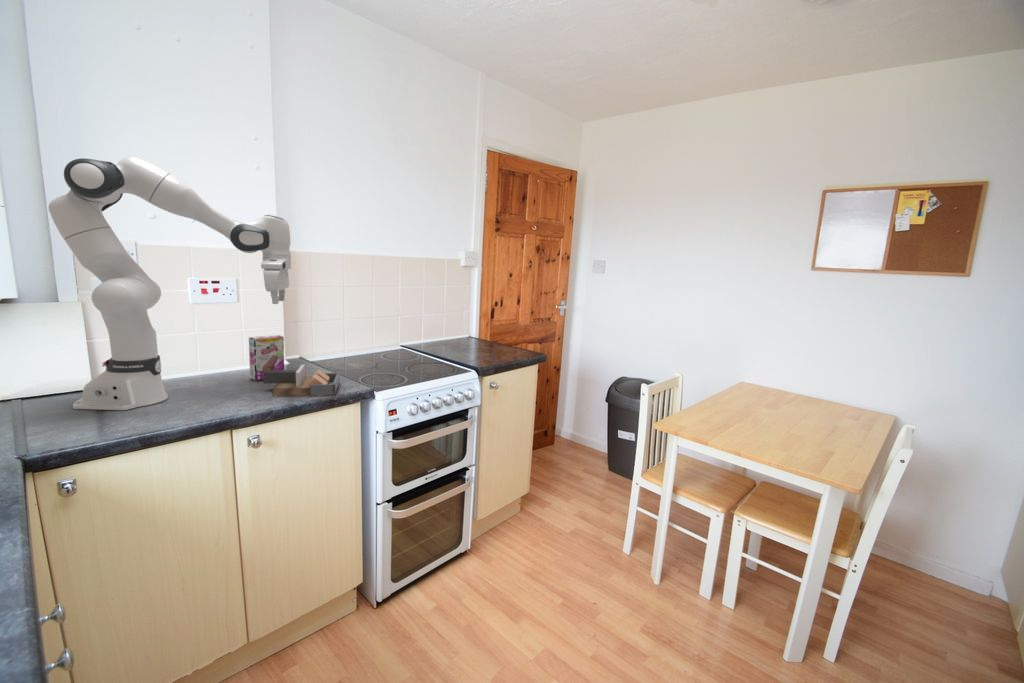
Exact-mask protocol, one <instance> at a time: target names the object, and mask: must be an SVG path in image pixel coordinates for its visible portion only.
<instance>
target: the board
mask: <svg viewBox="0 0 1024 683" xmlns="http://www.w3.org/2000/svg"><path fill="white" fill-rule="evenodd" d="M305 376H306V377H305V379H304V381H303V382H302V384H301V385H300V387H296V383H275V385H274V386H273V387H272V397H273V396H280V398H281V396H282V397H305V396H306V397H312V396H311V387H310V385H309V382H310V381H311V379H312V377H313V375H305Z"/></svg>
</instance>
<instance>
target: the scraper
mask: <svg viewBox="0 0 1024 683" xmlns="http://www.w3.org/2000/svg"><path fill="white" fill-rule="evenodd" d="M306 376H307V375H306V364H304V363H303V364H301V365H300V366H299V367H298V368H297V369H286V370H285V369H284V370H266V371H265V372H264V380H263V383H264V385H265V384H267V385H268V384H270V385H271V384H277V383H296V387H300V385H301V384H302V382H303V381H304V379H305V377H306Z"/></svg>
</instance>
